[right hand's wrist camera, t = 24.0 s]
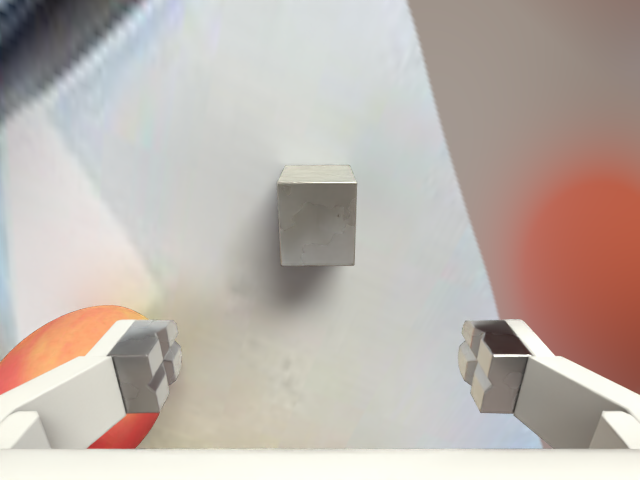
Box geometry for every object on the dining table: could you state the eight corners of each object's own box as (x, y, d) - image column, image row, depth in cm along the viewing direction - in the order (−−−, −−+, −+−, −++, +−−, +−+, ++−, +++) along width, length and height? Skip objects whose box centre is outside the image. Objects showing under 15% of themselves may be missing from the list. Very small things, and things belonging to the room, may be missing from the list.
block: (287, 235, 25) (280, 266, 21) (284, 165, 23) (276, 182, 19) (348, 235, 25) (354, 266, 21) (350, 164, 23) (357, 181, 19)
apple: (199, 383, 30) (144, 516, 20) (80, 384, 30) (-28, 516, 20) (182, 277, 26) (107, 378, 17) (48, 277, 26) (-102, 379, 17)
